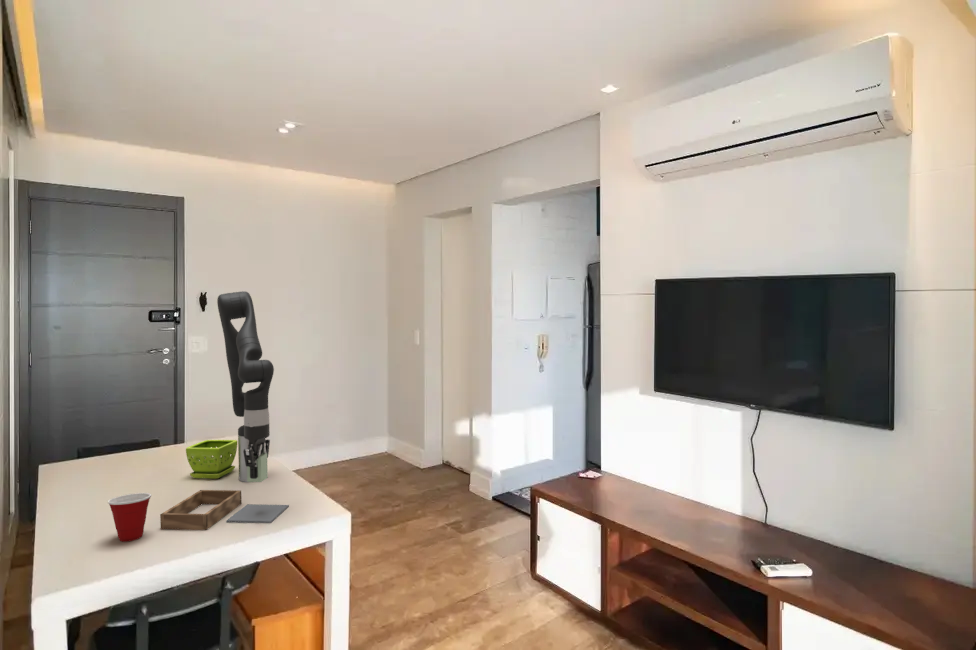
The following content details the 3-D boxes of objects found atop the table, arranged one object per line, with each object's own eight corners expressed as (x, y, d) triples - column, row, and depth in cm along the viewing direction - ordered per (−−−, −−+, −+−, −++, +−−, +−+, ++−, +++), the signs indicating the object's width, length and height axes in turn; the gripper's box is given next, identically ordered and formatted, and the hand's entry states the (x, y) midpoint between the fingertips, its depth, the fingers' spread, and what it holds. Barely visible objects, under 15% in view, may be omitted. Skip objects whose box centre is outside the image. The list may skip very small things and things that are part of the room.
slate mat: (247, 505, 189) (247, 504, 189) (288, 506, 188) (288, 504, 188) (226, 522, 175) (226, 520, 175) (270, 523, 174) (270, 521, 174)
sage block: (253, 477, 183) (253, 453, 183) (267, 477, 183) (267, 453, 183) (247, 481, 179) (247, 456, 179) (261, 482, 179) (261, 456, 178)
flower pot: (239, 470, 228) (238, 439, 228) (219, 481, 214) (219, 448, 214) (206, 469, 230) (205, 438, 229) (184, 480, 216) (184, 447, 215)
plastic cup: (152, 527, 171) (151, 487, 171) (152, 540, 162) (151, 498, 161) (109, 534, 166) (108, 494, 165) (106, 548, 156) (105, 505, 156)
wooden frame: (200, 503, 192) (200, 489, 191) (241, 503, 191) (241, 490, 191) (160, 529, 170) (160, 514, 169) (206, 530, 169) (206, 515, 169)
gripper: (255, 418, 188) (256, 469, 188) (234, 427, 173) (235, 482, 174) (277, 418, 187) (278, 469, 188) (258, 427, 173) (259, 483, 174)
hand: (257, 475), depth 181 cm, fingers closed on sage block, 4 cm apart
